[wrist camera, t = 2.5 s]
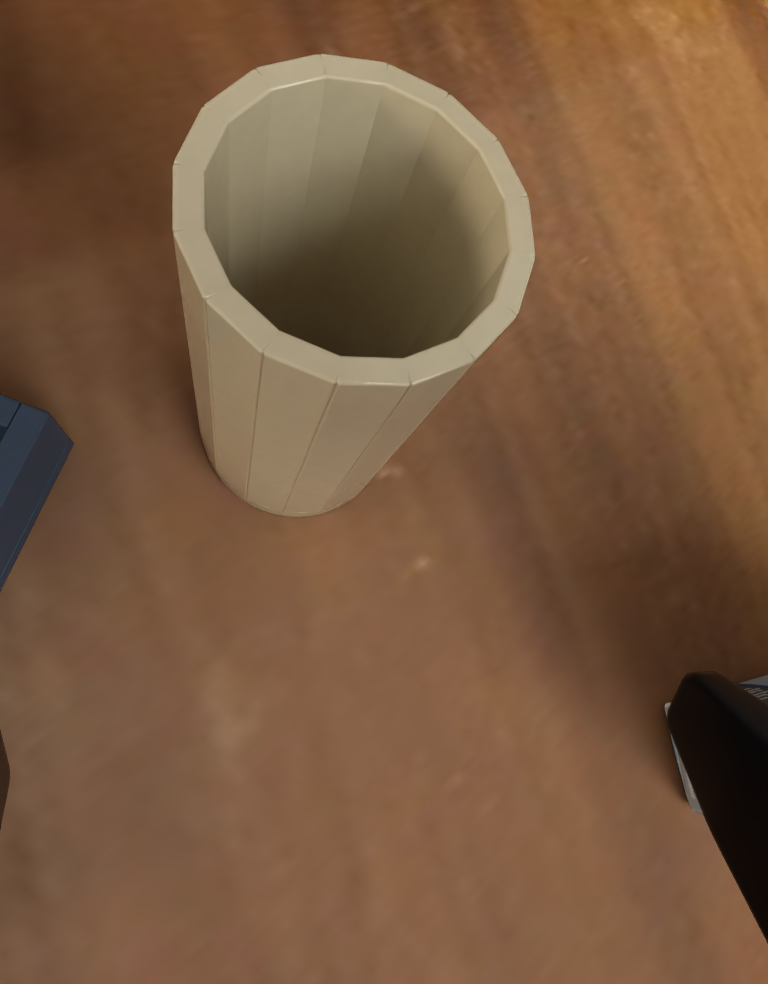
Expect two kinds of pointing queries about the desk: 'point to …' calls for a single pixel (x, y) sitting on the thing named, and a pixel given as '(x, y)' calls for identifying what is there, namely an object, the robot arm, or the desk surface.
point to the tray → (25, 472)
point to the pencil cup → (337, 270)
